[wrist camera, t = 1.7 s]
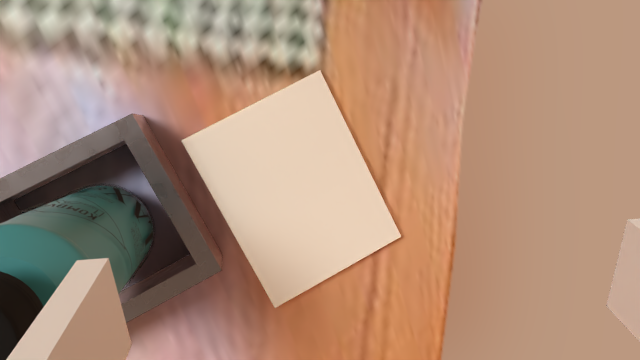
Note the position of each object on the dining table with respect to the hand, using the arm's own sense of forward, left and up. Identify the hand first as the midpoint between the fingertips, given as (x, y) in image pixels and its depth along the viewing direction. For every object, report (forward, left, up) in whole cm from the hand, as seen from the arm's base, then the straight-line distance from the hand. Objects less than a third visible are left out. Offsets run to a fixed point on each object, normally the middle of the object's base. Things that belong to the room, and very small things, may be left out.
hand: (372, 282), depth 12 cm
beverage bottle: (-3, -12, -24) cm, 27 cm away
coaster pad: (+1, +1, -24) cm, 24 cm away
